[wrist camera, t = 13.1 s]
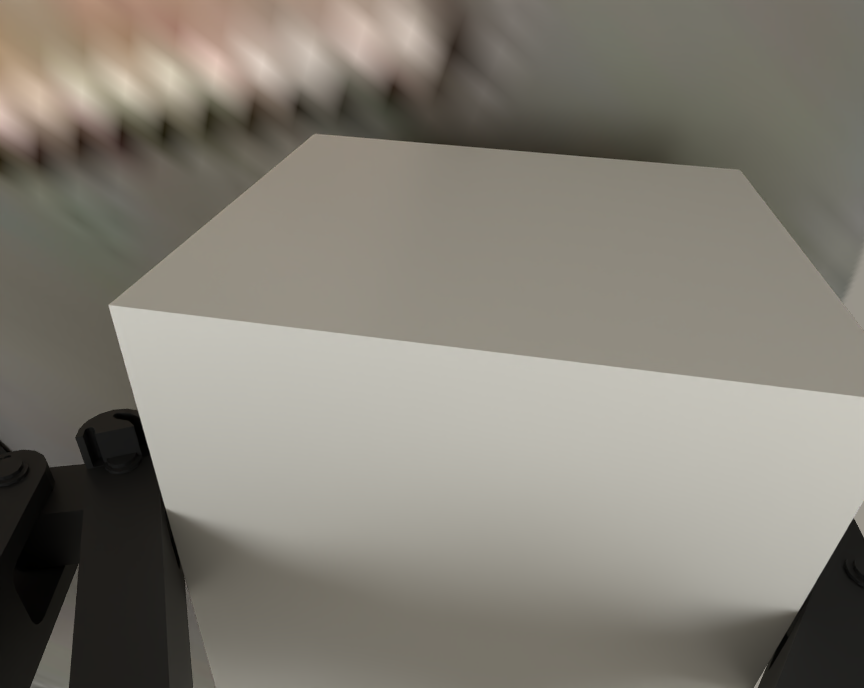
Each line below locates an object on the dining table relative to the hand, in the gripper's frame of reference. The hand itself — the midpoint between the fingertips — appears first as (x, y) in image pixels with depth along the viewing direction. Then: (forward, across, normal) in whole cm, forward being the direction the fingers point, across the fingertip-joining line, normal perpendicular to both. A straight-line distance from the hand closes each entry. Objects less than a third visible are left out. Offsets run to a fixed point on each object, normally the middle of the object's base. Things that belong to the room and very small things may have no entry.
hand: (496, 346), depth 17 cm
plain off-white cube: (+1, 0, 0) cm, 1 cm away
